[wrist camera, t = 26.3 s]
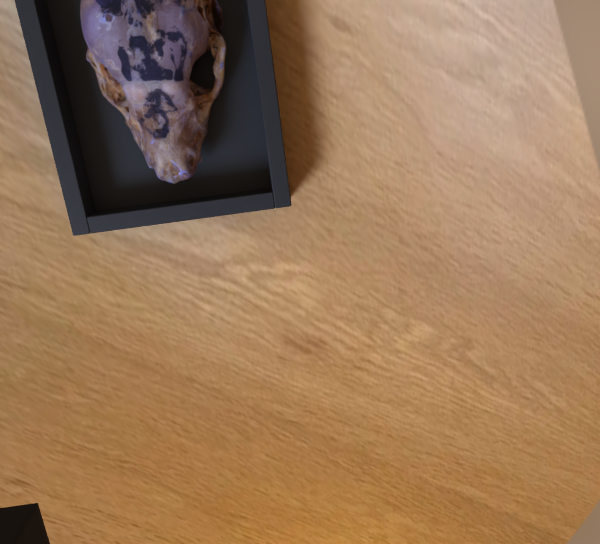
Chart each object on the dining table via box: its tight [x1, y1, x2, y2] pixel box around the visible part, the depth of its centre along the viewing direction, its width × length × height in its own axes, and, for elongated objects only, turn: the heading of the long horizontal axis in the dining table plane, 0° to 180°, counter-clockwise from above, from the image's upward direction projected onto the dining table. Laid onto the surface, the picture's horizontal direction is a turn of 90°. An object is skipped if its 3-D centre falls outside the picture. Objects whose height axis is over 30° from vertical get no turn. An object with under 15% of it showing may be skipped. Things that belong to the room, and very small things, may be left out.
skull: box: [80, 0, 226, 184], centre depth 29 cm, size 12×8×6 cm, turn 177°
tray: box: [15, 0, 291, 236], centre depth 31 cm, size 13×17×3 cm
